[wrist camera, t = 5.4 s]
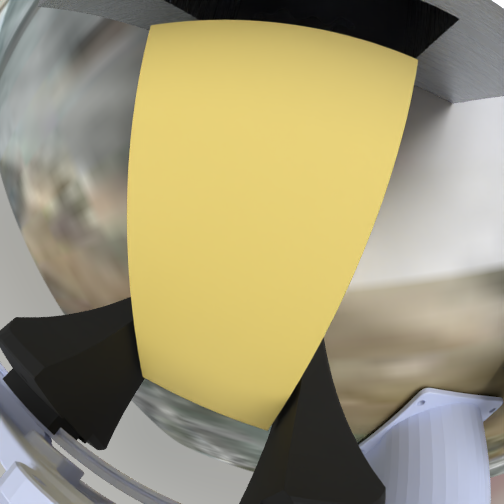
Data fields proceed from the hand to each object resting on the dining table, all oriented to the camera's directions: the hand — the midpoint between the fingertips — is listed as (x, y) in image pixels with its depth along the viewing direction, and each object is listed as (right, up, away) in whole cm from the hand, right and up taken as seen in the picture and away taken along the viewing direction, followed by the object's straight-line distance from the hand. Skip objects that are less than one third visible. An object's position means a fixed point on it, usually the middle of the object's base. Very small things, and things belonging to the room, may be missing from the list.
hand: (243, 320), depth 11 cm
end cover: (+1, +4, -1) cm, 4 cm away
